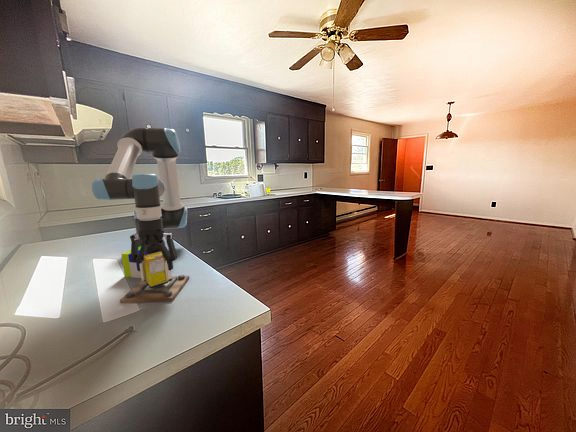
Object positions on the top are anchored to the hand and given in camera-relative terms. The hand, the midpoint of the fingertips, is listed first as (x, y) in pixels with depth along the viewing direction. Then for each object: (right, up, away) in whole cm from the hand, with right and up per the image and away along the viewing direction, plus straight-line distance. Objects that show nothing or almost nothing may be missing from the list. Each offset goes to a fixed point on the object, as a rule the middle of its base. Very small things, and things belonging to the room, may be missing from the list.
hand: (156, 278), depth 88 cm
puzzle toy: (-14, -2, +16) cm, 21 cm away
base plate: (0, -4, +1) cm, 4 cm away
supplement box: (0, -2, 0) cm, 2 cm away
